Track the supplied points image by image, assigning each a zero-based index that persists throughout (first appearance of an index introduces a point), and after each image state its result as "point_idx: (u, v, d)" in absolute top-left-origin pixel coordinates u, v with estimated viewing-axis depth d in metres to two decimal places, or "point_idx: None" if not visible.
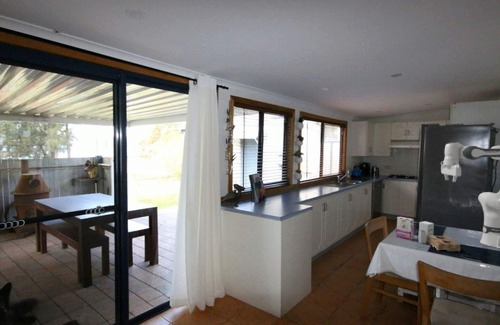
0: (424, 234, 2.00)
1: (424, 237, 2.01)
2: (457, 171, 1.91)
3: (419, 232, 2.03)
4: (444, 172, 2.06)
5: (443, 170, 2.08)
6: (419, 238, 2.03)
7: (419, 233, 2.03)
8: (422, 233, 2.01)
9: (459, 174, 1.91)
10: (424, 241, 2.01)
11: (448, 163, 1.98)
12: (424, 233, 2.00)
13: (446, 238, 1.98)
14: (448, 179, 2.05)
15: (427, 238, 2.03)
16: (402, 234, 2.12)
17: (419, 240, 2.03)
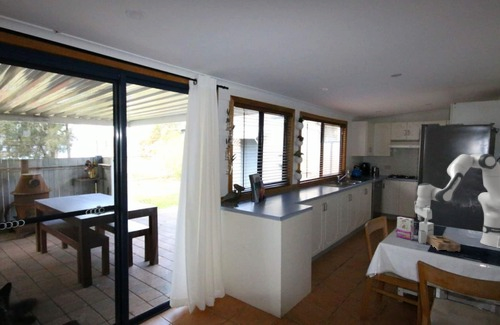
0: (424, 234, 2.00)
1: (424, 237, 2.01)
2: (428, 214, 1.92)
3: (419, 232, 2.03)
4: (417, 212, 2.07)
5: (416, 210, 2.08)
6: (419, 238, 2.03)
7: (419, 233, 2.03)
8: (422, 233, 2.01)
9: (430, 217, 1.92)
10: (424, 241, 2.01)
11: (420, 205, 1.99)
12: (424, 233, 2.00)
13: (446, 238, 1.98)
14: None
15: (427, 238, 2.03)
16: (402, 234, 2.12)
17: (419, 240, 2.03)
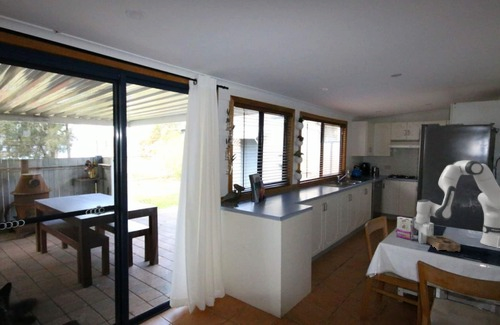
0: None
1: None
2: (427, 231, 1.93)
3: (419, 232, 2.03)
4: (417, 228, 2.08)
5: (416, 225, 2.09)
6: (419, 238, 2.03)
7: (419, 233, 2.03)
8: (422, 233, 2.01)
9: (429, 234, 1.92)
10: (424, 241, 2.01)
11: (419, 221, 2.00)
12: None
13: (446, 238, 1.98)
14: None
15: (427, 238, 2.03)
16: (402, 234, 2.12)
17: (419, 240, 2.03)
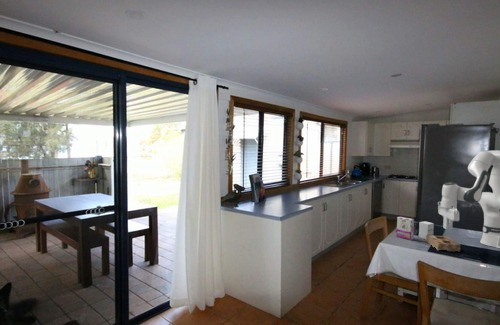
0: None
1: None
2: (455, 216, 1.79)
3: (444, 217, 1.90)
4: (441, 213, 1.94)
5: (440, 211, 1.96)
6: (444, 224, 1.90)
7: (444, 219, 1.90)
8: None
9: (457, 219, 1.79)
10: (450, 227, 1.87)
11: (446, 205, 1.86)
12: None
13: (446, 238, 1.98)
14: None
15: (427, 238, 2.03)
16: (402, 234, 2.12)
17: (444, 226, 1.90)
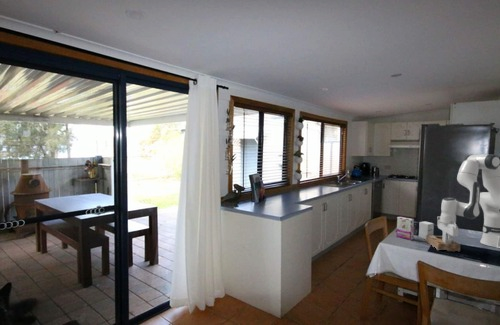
0: None
1: None
2: (454, 231, 1.80)
3: (444, 232, 1.91)
4: (441, 228, 1.95)
5: (440, 225, 1.96)
6: (443, 239, 1.90)
7: (444, 233, 1.90)
8: None
9: (456, 235, 1.80)
10: (449, 242, 1.88)
11: (445, 221, 1.87)
12: None
13: None
14: None
15: (427, 238, 2.03)
16: (402, 234, 2.12)
17: (443, 241, 1.90)
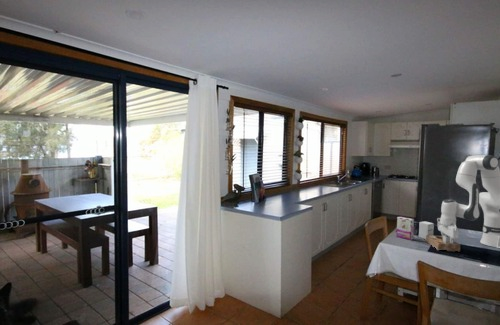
0: None
1: None
2: (454, 233, 1.80)
3: (444, 238, 1.91)
4: (441, 230, 1.95)
5: (440, 227, 1.97)
6: None
7: (444, 239, 1.91)
8: (447, 239, 1.88)
9: (456, 237, 1.80)
10: None
11: (445, 223, 1.87)
12: (449, 239, 1.88)
13: None
14: None
15: (427, 238, 2.03)
16: (402, 234, 2.12)
17: None
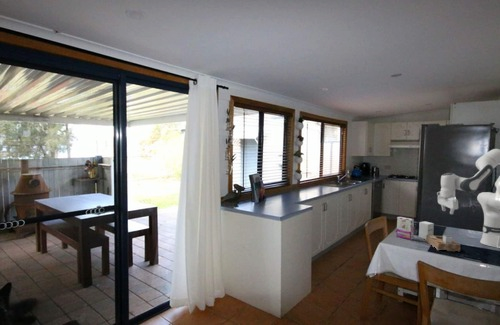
0: (449, 240, 1.88)
1: None
2: (454, 204, 1.88)
3: (444, 238, 1.91)
4: (441, 203, 2.03)
5: (440, 200, 2.04)
6: None
7: (444, 239, 1.91)
8: (447, 239, 1.88)
9: (456, 207, 1.88)
10: None
11: (445, 195, 1.95)
12: (449, 239, 1.88)
13: None
14: (445, 210, 2.02)
15: (427, 238, 2.03)
16: (402, 234, 2.12)
17: None
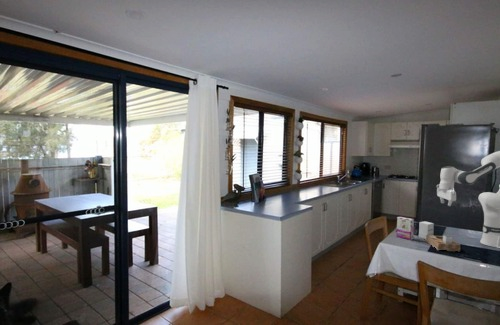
0: (449, 240, 1.88)
1: None
2: (452, 196, 1.95)
3: (444, 238, 1.91)
4: (440, 195, 2.10)
5: (439, 193, 2.11)
6: None
7: (444, 239, 1.91)
8: (447, 239, 1.88)
9: (454, 199, 1.94)
10: None
11: (443, 187, 2.02)
12: (449, 239, 1.88)
13: None
14: None
15: (427, 238, 2.03)
16: (402, 234, 2.12)
17: None
